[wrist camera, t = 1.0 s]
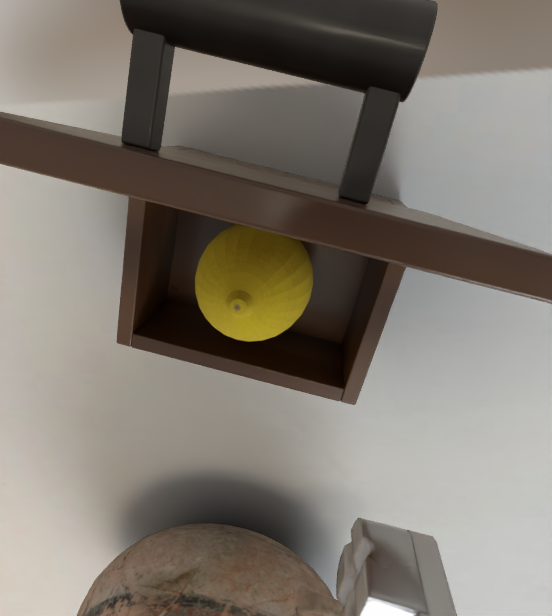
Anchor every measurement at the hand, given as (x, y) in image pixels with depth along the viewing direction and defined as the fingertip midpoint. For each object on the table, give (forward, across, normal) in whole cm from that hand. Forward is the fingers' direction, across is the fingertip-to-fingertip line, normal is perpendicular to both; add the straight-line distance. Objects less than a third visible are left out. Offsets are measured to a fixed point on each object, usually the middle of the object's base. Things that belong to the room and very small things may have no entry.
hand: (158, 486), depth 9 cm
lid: (+6, 0, -5) cm, 8 cm away
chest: (+18, 0, 0) cm, 18 cm away
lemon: (+17, 0, 0) cm, 17 cm away
